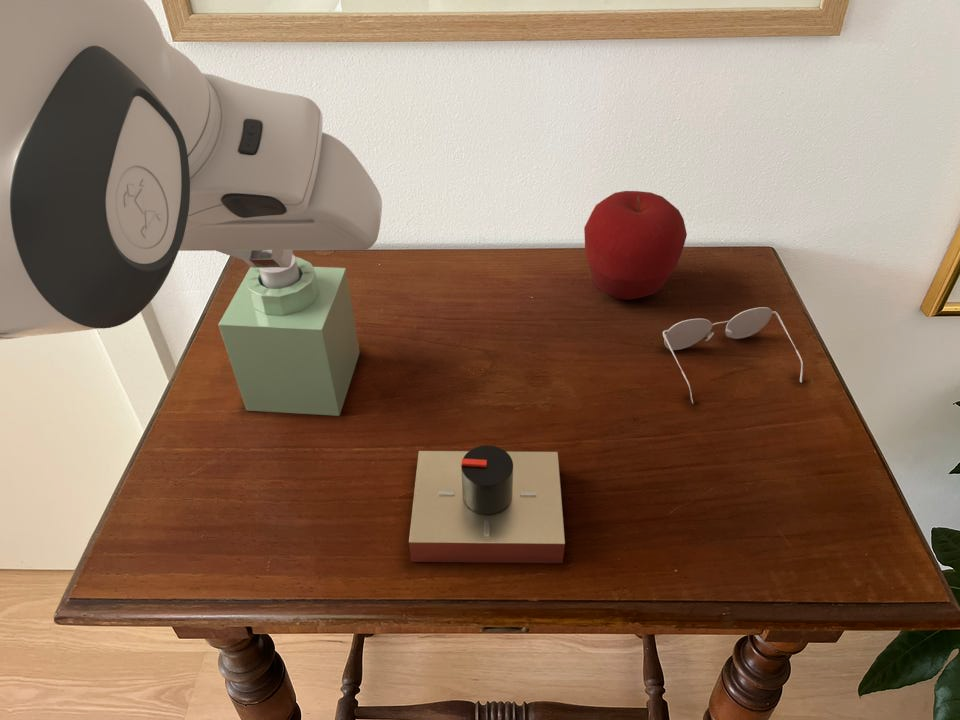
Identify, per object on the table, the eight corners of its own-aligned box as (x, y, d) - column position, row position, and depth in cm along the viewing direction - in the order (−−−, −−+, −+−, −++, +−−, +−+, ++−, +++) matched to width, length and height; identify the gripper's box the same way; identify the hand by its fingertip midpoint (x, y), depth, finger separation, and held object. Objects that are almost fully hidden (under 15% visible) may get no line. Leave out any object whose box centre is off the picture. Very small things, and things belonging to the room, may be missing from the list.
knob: (513, 475, 65) (514, 444, 62) (510, 516, 62) (511, 485, 59) (465, 472, 66) (464, 441, 63) (459, 512, 62) (458, 481, 59)
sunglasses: (764, 332, 84) (780, 303, 80) (801, 389, 79) (819, 361, 75) (654, 353, 82) (664, 323, 78) (684, 412, 77) (696, 384, 73)
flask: (339, 416, 75) (318, 310, 66) (246, 410, 76) (211, 305, 67) (359, 352, 83) (343, 248, 73) (274, 348, 83) (246, 245, 74)
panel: (562, 563, 62) (565, 542, 60) (411, 562, 62) (408, 541, 60) (555, 472, 69) (557, 450, 67) (420, 470, 70) (418, 449, 68)
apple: (611, 331, 85) (625, 233, 76) (560, 278, 93) (567, 184, 84) (693, 303, 89) (716, 207, 80) (638, 255, 97) (653, 162, 88)
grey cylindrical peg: (294, 290, 69) (290, 273, 67) (257, 289, 69) (252, 271, 68) (304, 268, 71) (300, 251, 70) (268, 267, 72) (264, 250, 70)
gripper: (-8, 204, 42) (139, 297, 55) (324, 198, 38) (398, 299, 51) (21, 112, 44) (157, 222, 57) (341, 96, 40) (408, 219, 53)
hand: (273, 258), depth 54 cm, fingers closed
